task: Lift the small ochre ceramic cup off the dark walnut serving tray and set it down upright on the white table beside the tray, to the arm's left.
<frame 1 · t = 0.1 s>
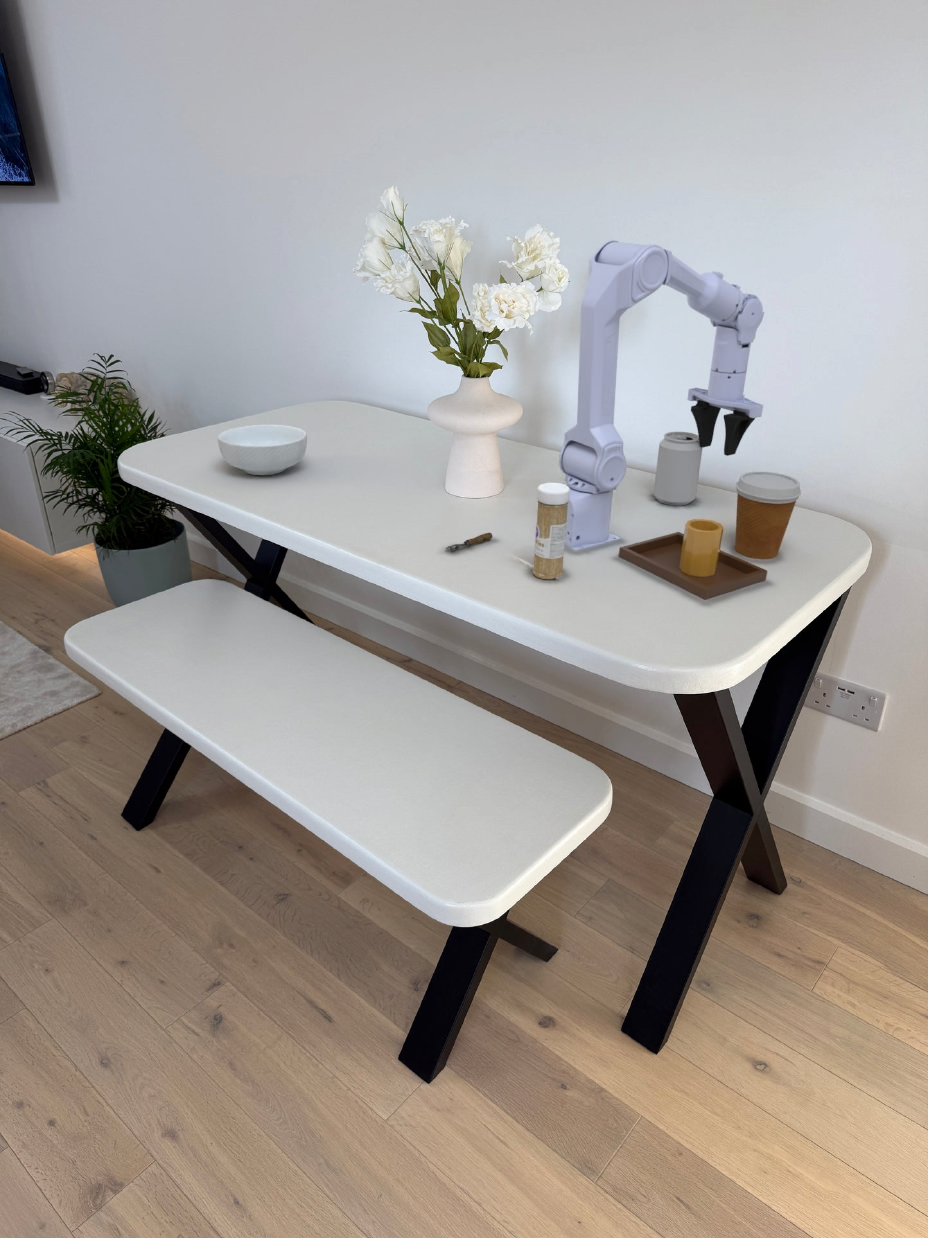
hand: (717, 450, 147), 11 cm above the table, tool pointing down, fingers open, 5 cm apart
cup: (697, 569, 126), resting on tray
can opener: (469, 546, 134), on the table
tray: (689, 570, 127), on the table
sprinkles bottle: (547, 575, 125), on the table
can: (673, 501, 155), on the table, touching gripper
disposable coffee cup: (755, 555, 133), on the table
cereal bowl: (265, 470, 167), on the table
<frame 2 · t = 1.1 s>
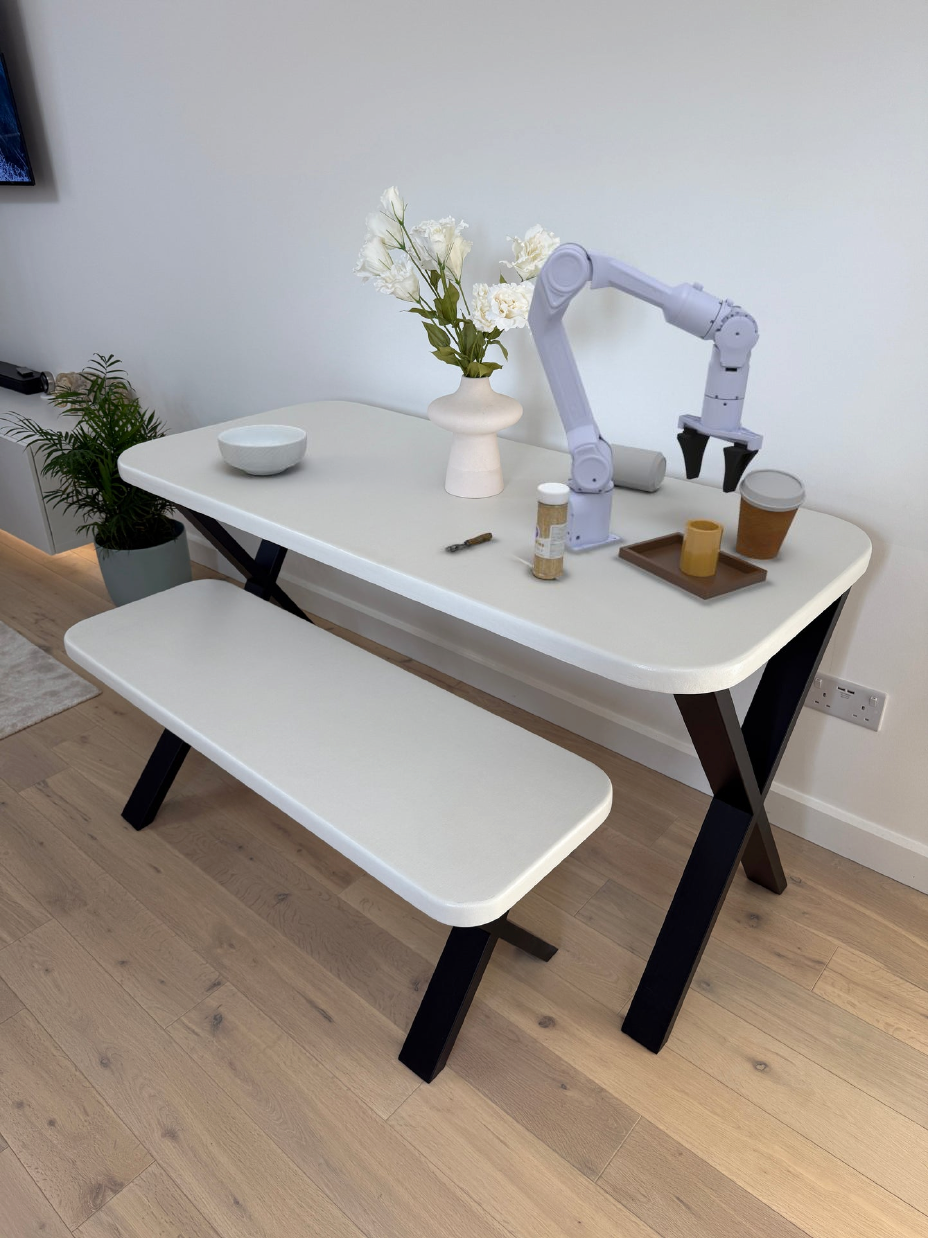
hand: (710, 484, 131), 10 cm above the table, tool pointing down, fingers open, 7 cm apart
can: (661, 473, 157), point 4 cm above the table
disposable coffee cup: (756, 551, 133), on the table, touching gripper
everything else where it was.
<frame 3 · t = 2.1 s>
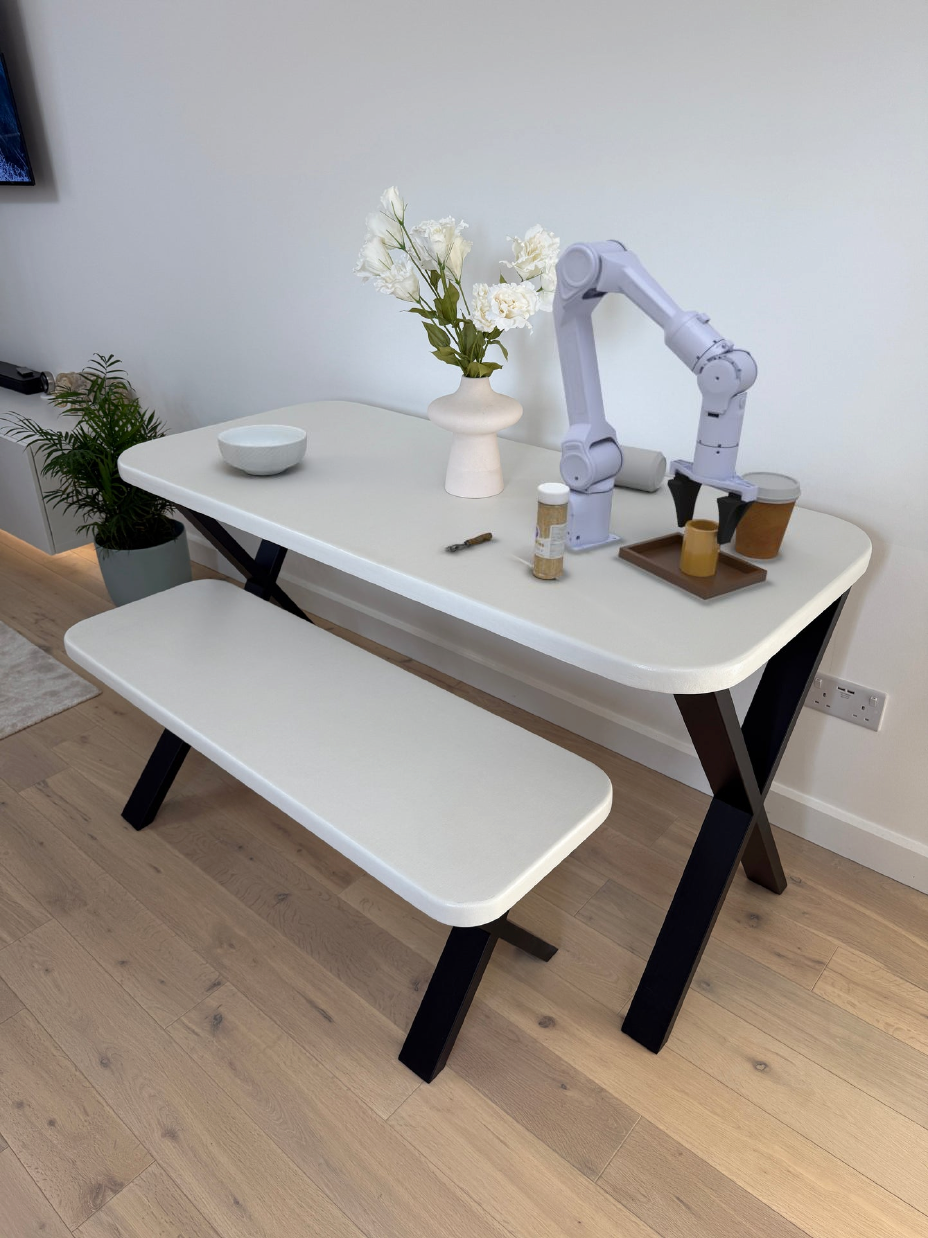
hand: (703, 534, 124), 6 cm above the table, tool pointing down, fingers open, 7 cm apart
disposable coffee cup: (755, 555, 133), on the table
everything else where it was.
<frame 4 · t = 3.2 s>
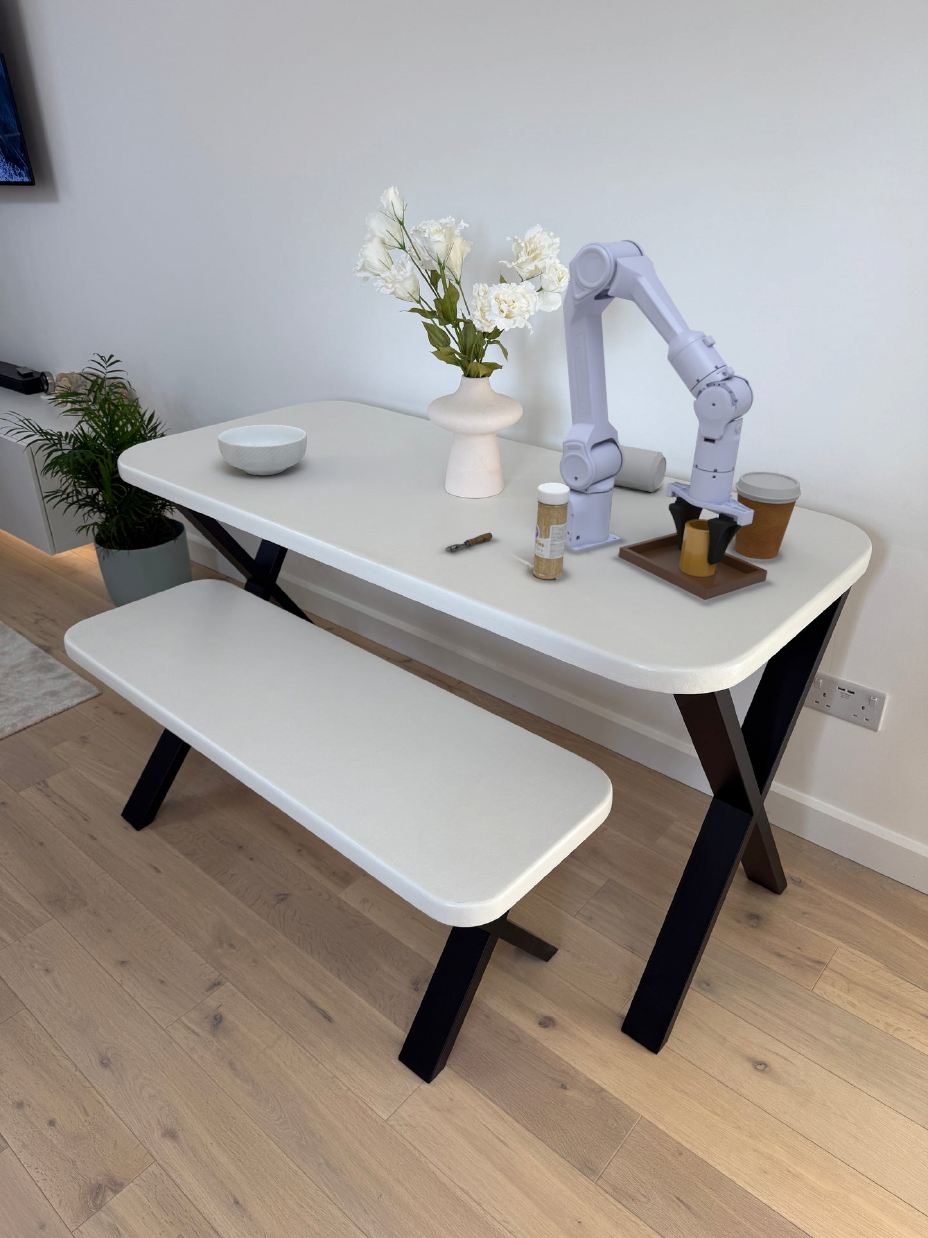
hand: (699, 555, 125), 3 cm above the table, tool pointing down, fingers closed on cup, 5 cm apart
cup: (697, 569, 126), resting on tray, touching gripper
everything else where it was.
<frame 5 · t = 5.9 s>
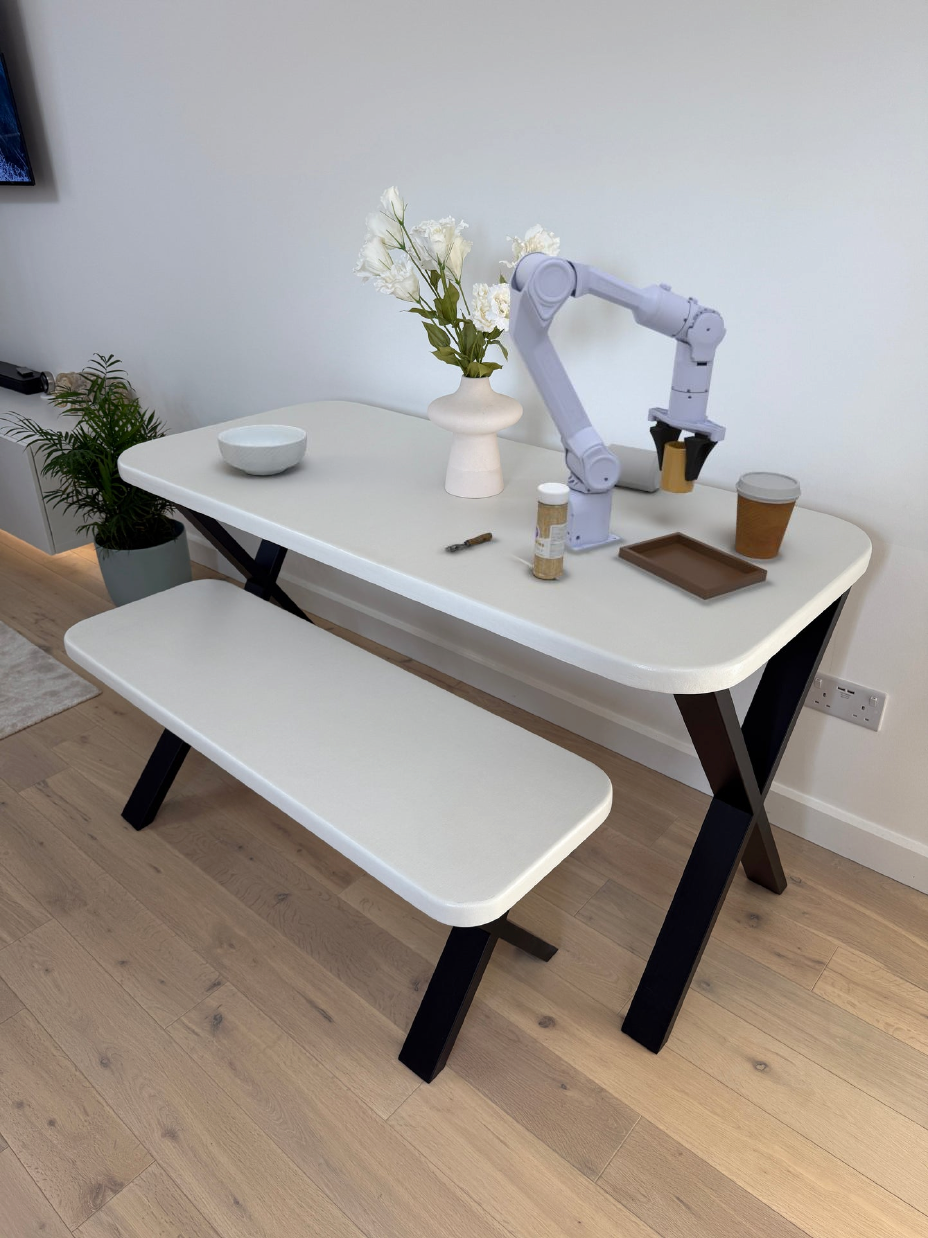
hand: (678, 474, 136), 10 cm above the table, tool pointing down, fingers closed on cup, 5 cm apart
cup: (676, 487, 137), point 8 cm above the table, touching gripper
everything else where it was.
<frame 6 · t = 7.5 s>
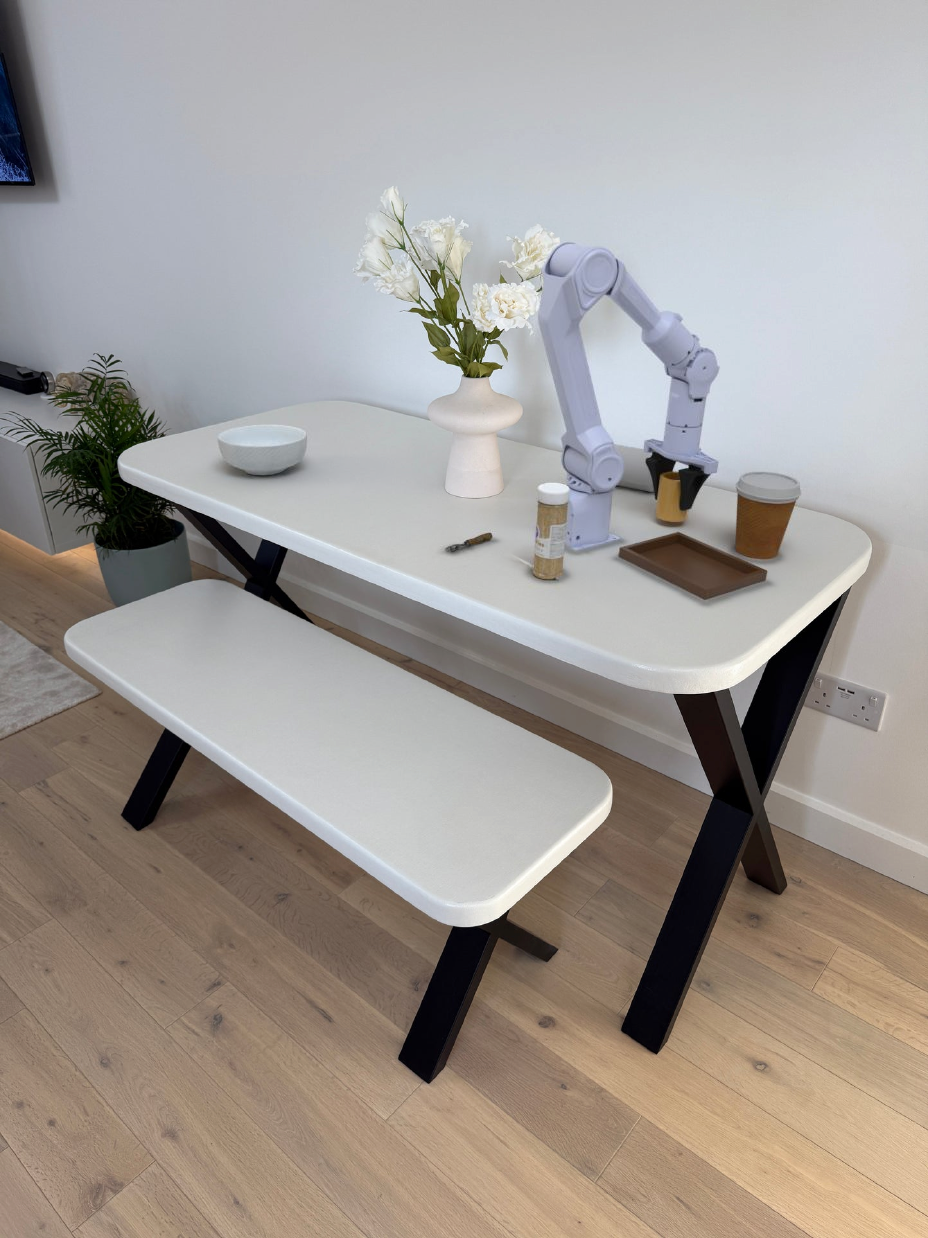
hand: (673, 504, 142), 4 cm above the table, tool pointing down, fingers closed on cup, 5 cm apart
cup: (671, 516, 143), point 2 cm above the table, touching gripper
everything else where it was.
when the fingers open (2 cm above the table, at t = 8.6 s): cup stays where it is, on the table.
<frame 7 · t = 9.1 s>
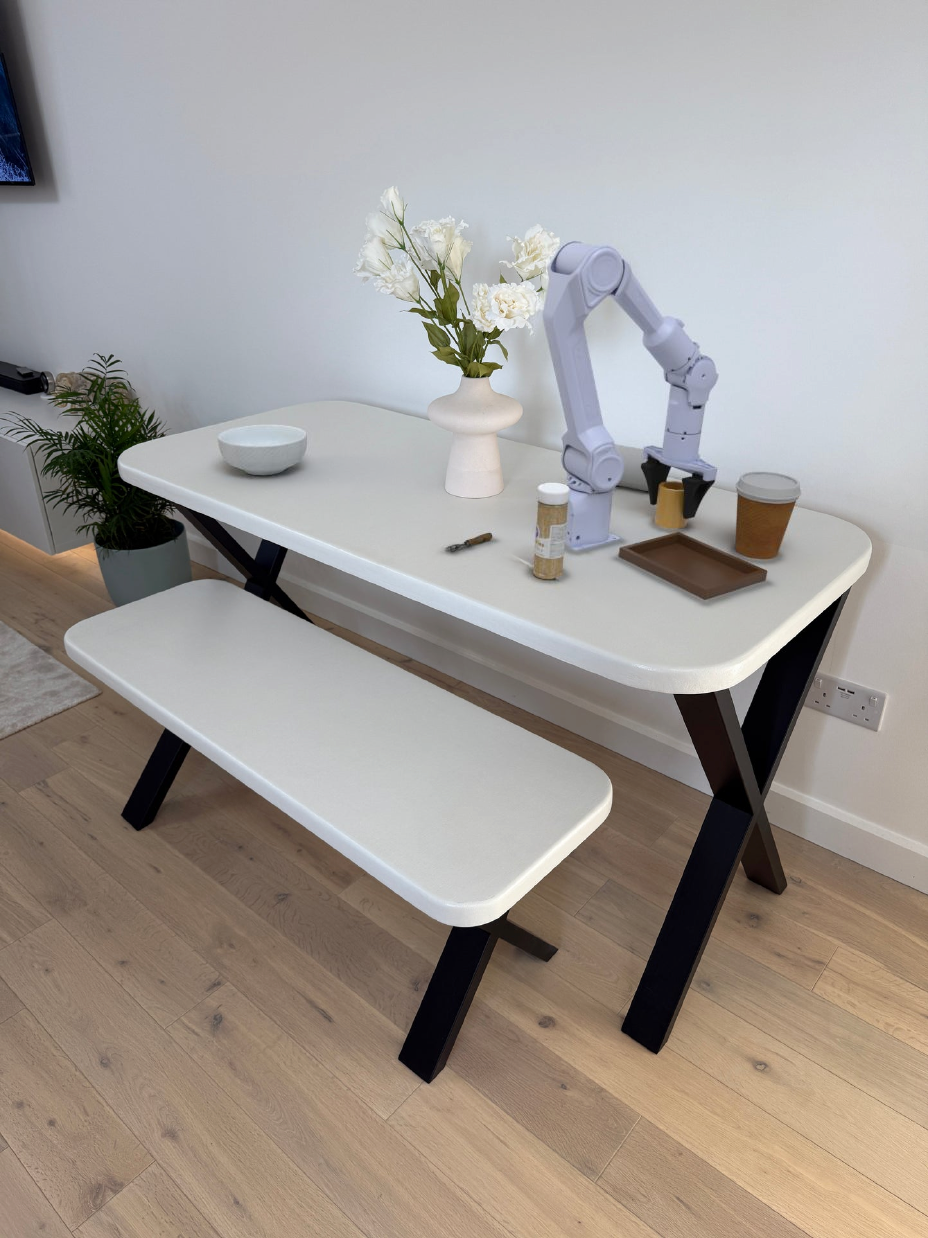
hand: (671, 510, 142), 3 cm above the table, tool pointing down, fingers open, 7 cm apart
cup: (670, 525, 144), on the table
everything else where it was.
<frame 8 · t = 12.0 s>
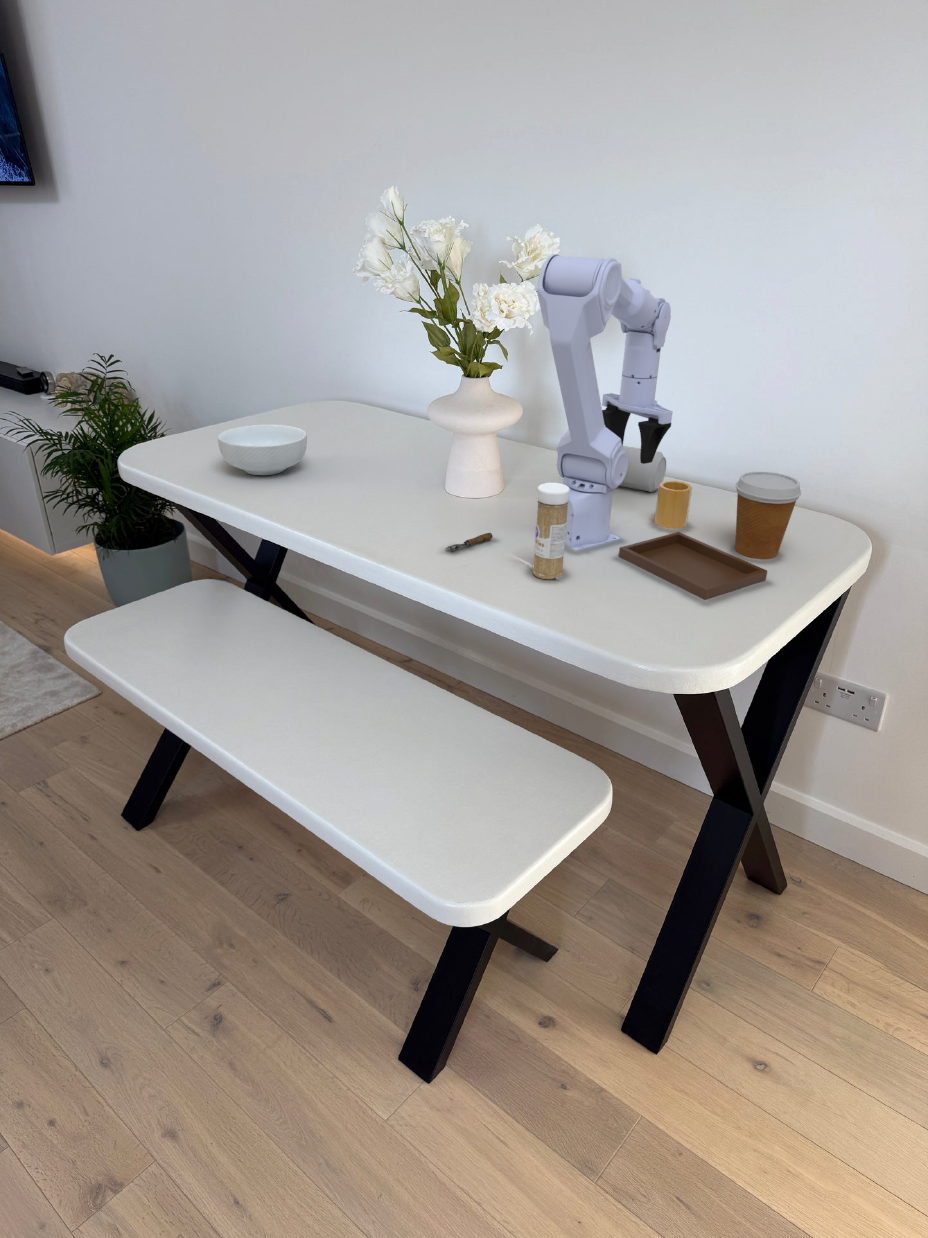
hand: (630, 456, 145), 10 cm above the table, tool pointing down, fingers open, 7 cm apart
nothing on the table moved.
at the end: cup 0.1 cm from the target spot, on the table; cup tilted 0°; cup touching table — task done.
